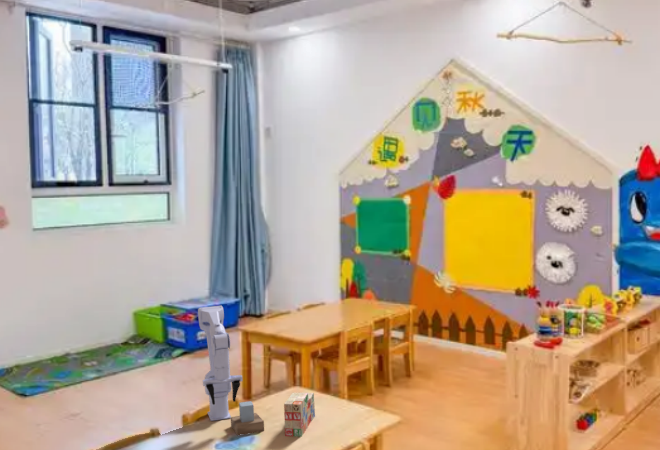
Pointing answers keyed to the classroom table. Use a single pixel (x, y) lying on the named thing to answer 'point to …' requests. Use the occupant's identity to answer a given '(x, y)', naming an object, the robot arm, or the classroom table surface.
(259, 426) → the walnut base
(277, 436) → the classroom table surface
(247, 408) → the grey block
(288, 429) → the stack of blocks
